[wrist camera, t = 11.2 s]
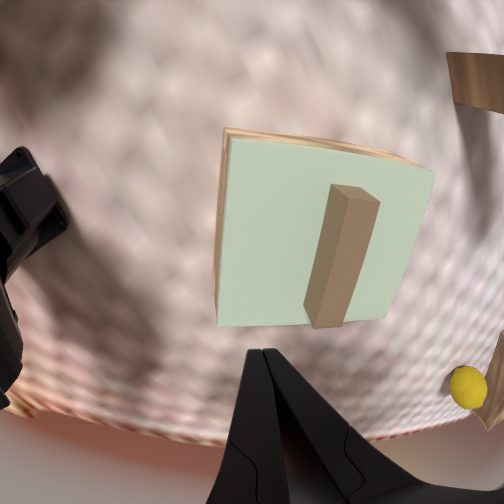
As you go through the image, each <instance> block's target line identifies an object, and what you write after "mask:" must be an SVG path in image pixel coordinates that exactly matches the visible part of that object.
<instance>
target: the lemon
mask: <svg viewBox="0 0 504 504" xmlns="http://www.w3.org/2000/svg"><path fill="white" fill-rule="evenodd" d="M450 393H451V395H452V397H453V399H454V400H455V402H456V403H457V404H458V405H459V406H460V407H462V408H464V409H474V408H480V407H481V406H482V405H483V402H484V400H485V398H486V395H487V383H486V381H485V378H484V377H483V375H482V374H481V372H480V371H479V370H477V369H476V368H474V367H470V366H466V367H462V368H456V369H455V370H454V374H453V376H452V378H451V380H450Z"/></svg>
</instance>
